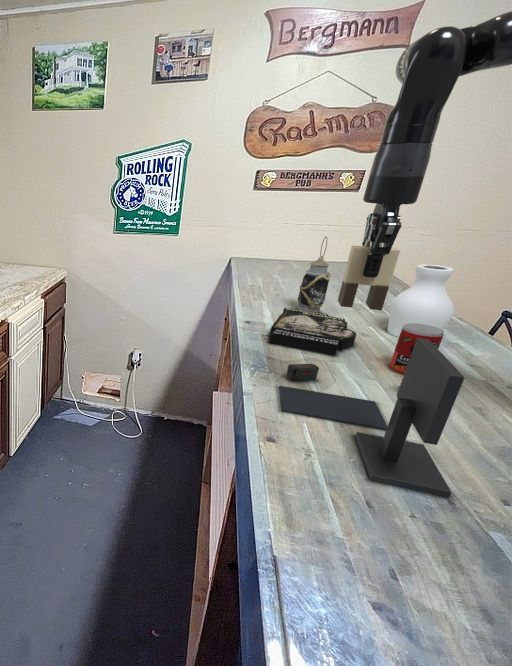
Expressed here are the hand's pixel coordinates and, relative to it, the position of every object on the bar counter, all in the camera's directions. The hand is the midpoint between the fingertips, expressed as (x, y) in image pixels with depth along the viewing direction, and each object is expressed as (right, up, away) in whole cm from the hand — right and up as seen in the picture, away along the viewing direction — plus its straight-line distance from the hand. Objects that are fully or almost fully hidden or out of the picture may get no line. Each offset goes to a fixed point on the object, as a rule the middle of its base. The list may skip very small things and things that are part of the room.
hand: (367, 274), depth 84 cm
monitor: (0, -33, -7) cm, 34 cm away
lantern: (+33, +1, +73) cm, 80 cm away
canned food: (+30, -19, +28) cm, 45 cm away
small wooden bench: (0, -5, +2) cm, 6 cm away
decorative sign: (+21, -9, +51) cm, 56 cm away
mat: (0, -26, +11) cm, 28 cm away
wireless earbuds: (+2, -20, +24) cm, 32 cm away
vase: (+51, -8, +51) cm, 73 cm away
